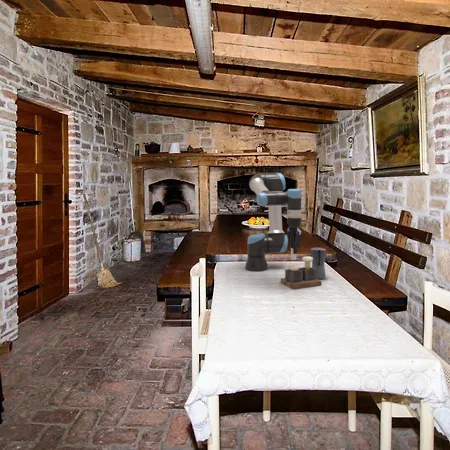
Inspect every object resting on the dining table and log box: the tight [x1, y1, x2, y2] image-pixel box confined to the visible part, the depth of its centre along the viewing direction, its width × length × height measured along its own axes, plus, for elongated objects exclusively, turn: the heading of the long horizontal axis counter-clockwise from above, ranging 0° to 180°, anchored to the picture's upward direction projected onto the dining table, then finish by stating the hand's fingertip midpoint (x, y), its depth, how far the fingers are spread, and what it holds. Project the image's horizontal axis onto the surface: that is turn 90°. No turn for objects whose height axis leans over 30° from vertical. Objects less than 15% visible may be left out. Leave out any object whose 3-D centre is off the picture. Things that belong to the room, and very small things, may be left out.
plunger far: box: [302, 255, 313, 270], centre depth 193 cm, size 6×6×8 cm
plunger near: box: [288, 264, 300, 272], centre depth 190 cm, size 6×6×8 cm
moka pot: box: [309, 244, 327, 280], centre depth 204 cm, size 10×15×20 cm, turn 174°
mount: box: [280, 266, 323, 290], centre depth 192 cm, size 14×18×8 cm
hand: (293, 259), depth 190 cm, fingers closed
